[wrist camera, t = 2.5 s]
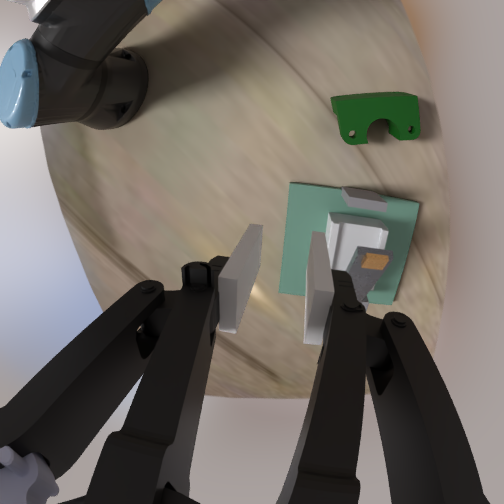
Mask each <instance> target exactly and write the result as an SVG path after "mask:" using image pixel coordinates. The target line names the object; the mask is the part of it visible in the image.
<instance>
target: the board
mask: <svg viewBox="0 0 504 504" xmlns="http://www.w3.org/2000/svg"><path fill="white" fill-rule="evenodd" d="M418 209H419V203H418V202H416V201H411V200H406V199H401V198H396V197H390V196H385V195H379V194H377V193H376V192H374V191H368V190H362V189H355V188H349V187H342V188H335V187H327V186H320V185H312V184H303V183H294V182H290V185H289V196H288V207H287V218H286V228H285V238H284V248H283V257H282V266H281V275H280V284H279V293H285V294H292V295H300V296H306V270H307V263H308V257H309V250H310V243H311V236H312V231H316V232H324V233H325V236H326V242H327V248H328V253H329V259H330V266H331V269H334V270H342V271H346V269H347V267H348V265H349V263H350V261H351V258H352V256H353V254H354V252H355V250H356V248H357V246H362V247H369V248H377V249H384V250H391V251H393V261H392V262H391V263H390V265H389V266H388V267H387V269H386V270H385V272H384V273H383V274H382V276H381V277H380V278H379V280H378V281H377V282H376V284H375V285H374V286H373V288H372V289H371V290H370V291H369V293H368V294H367V295H366V296H365V298H364V299H363V300H362V301H361V303H362V304H363V305H364V306H365V309H366V311H367V307H368V304H369V303H374V304H384V305H392V302H393V299H394V297H395V294H396V291H397V288H398V285H399V282H400V278H401V275H402V272H403V269H404V265H405V262H406V258H407V255H408V251H409V247H410V243H411V239H412V235H413V231H414V227H415V223H416V218H417V213H418Z"/></svg>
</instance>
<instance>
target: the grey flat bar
mask: <svg viewBox="0 0 504 504" xmlns="http://www.w3.org/2000/svg"><path fill="white" fill-rule="evenodd" d="M392 261H393V251H391V250H384V249H377V248H369V247H362V246H357V248H356V250H355V252H354V254H353V256H352V258H351V261H350V263H349V265H348V267H347V269H346V272H347V273H348V274H349V275H350V276H351V278H352V281H353V285H354V289H355V293H356V296H357V300H358V301H359V302H360V303H361V301H362V300H363V299H364V298H365V296H366V295H367V294H368V293H369V291H370V290H371V289H372V288H373V286H374V285H375V284H376V282H377V281H378V280H379V278H380V277H381V276H382V274H383V273H384V272H385V270H386V269H387V267H388V266H389V265H390V263H391V262H392Z"/></svg>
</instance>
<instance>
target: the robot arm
mask: <svg viewBox="0 0 504 504" xmlns="http://www.w3.org/2000/svg"><path fill="white" fill-rule="evenodd" d="M8 1H12V2H16V3H19V4H23V5H26V7H27V8H28V15H29V20H30V21H32V22H35V23H38V24H39V26H38V28H37V29H36V31H35V32H34V34H33V35H32V37H31V38H30V39H29V40H28V39H26V38H25V39H22V40H19V41H17V42H15V43H14V44H13V45H12V46H11V47H10V48H9V50H8V51H7V53H6V55H5V57H4V59H3V61H2V64H1V66H0V120H1V122H2V123H3V124H4V125H5V126H6V127H8V128H24V127H25V128H31V127H36V126H43V125H50V124H57V123H65V122H75V121H77V122H79V123H82V124H84V125H86V126H89V127H91V128H94V129H98V130H106V129H114V128H117V127H120V126H122V125H123V124H125V123H126V122H127V121H129V120H130V119H131V118H132V117H133V116H134V115H135V113H136V112H137V111H138V109H139V108H140V106H141V104H142V102H143V100H144V97H145V94H146V91H147V86H148V72H147V67H146V65H145V62H144V61H143V59H142V58H141V57H140V56H139V55H138V54H136V53H134V52H132V51H129V50H126V49H120V48H115V47H116V46H117V45H118V44H119V43H120V42H121V41H122V40H123V39H124V38H125V37H126V35H127V34H128V33H129V32H130V31H131V30H132V29H133V28H134V27H135V26H136V25H137V24H138V23H139V22H140V21H141V20H142V19H144V18H145V17H146V16H148V15H149V14H150V13H151V11H152V10H153V9H154V8H155V7H156V6H157V5H158V4H159V3H160V2H161V1H162V0H8ZM114 48H115V49H114ZM262 231H263V225H257V224H250V225H249V227H248V228H247V230H246V232H245V233H244V235H243V237H242V238H241V240H240V242H239V243H238V245H237V246H236V248H235V250H234V251H233V253H232V255H231V256H230V257H224V256H216V257H215V258H213V259H211V260H210V261H209V263H207V262H191V263H188V264H185V265H184V266H183V267H182V268H181V270H182V282H183V286H182V288H181V290H176V291H164V286H163V284H162V283H161V282H159V281H155V280H145V281H143V282H140V283H138V284H136V285H135V286H134V287H133V288H131V289H130V290H129V291H128V292H127V293H126V294H124V295H123V296H122V297H121V298H120V299H118V300H117V301H116V302H115V303H114V304H113V305H111V306H110V307H109V308H108V309H107V310H106V311H105V312H103V313H102V314H101V315H100V316H99V317H98V318H97V319H95V320H94V321H93V322H92V323H91V324H90V325H89V326H88V327H86V328H85V329H84V330H83V331H82V332H81V333H80V334H79V335H78V336H76V337H75V338H74V339H73V340H72V341H71V342H70V343H69V344H68V345H67V346H66V347H65V348H63V349H62V350H61V351H60V352H59V353H58V354H57V355H56V356H55V357H54V358H53V359H52V360H51V361H50V362H49V363H47V364H46V365H45V366H44V367H43V368H42V369H41V370H40V371H39V372H38V373H37V374H36V375H35V376H34V377H33V378H32V379H31V380H30V381H29V382H28V383H27V384H26V385H25V386H24V387H23V388H22V389H21V390H20V391H19V392H18V393H17V394H16V395H15V396H14V397H13V398H12V399H11V400H10V401H9V402H8V404H7V405H6V406H4V407H2V408H0V504H46V501H47V499H48V498H49V497H50V496H56V495H57V494H58V493H59V487H58V485H57V484H56V482H55V480H56V479H57V478H59V477H61V476H62V475H63V474H64V473H65V472H66V471H68V470H69V469H70V468H71V467H72V466H73V464H74V463H75V462H76V461H77V460H78V459H79V457H80V456H81V455H82V453H83V452H84V451H85V449H86V448H87V447H88V445H89V444H90V443H91V441H92V440H93V439H94V437H95V436H96V435H97V433H98V432H99V430H100V429H101V428H102V427H103V426H104V424H105V423H106V422H107V420H108V419H109V418H110V416H111V415H112V414H113V412H114V411H115V410H116V408H117V407H118V406H119V405H120V403H121V402H122V401H123V399H124V398H125V397H126V395H127V394H128V393H129V392H130V390H131V389H132V388H133V386H134V385H135V384H136V382H137V381H138V380H139V379H140V377H141V376H142V375H143V376H142V379H141V382H140V384H139V386H138V389H137V391H136V394H135V396H134V399H133V401H132V404H131V406H130V409H129V412H128V414H127V417H126V419H125V422H124V425H123V427H122V429H121V430H120V431H116V432H112V433H111V434H110V435H109V436H108V438H107V439H106V441H105V443H104V446H103V449H102V451H101V454H100V457H99V459H98V462H97V465H96V468H95V471H94V474H93V476H92V479H91V482H90V485H89V488H88V491H87V494H86V495H85V496H82V497H79V498H76V499H73V500H69V501H66V502H62V503H58V504H200V503H198V502H196V501H194V500H193V499H190V498H189V490H190V482H189V475H190V468H191V462H192V457H193V451H194V445H195V440H196V434H197V429H198V425H199V419H200V414H201V409H202V404H203V399H204V394H205V388H206V383H207V378H208V373H209V368H210V363H211V359H212V354H213V349H214V344H215V339H216V327H217V324H218V322H219V331H225V332H230V333H236V332H237V329H238V326H239V324H240V321H241V318H242V315H243V313H244V310H245V307H246V304H247V301H248V299H249V296H250V293H251V290H252V287H253V285H254V282H255V279H256V276H257V273H258V270H259V268H260V260H261V246H262ZM139 326H141V328H140V329H139V330H138V331H137V329H138V328H139ZM322 339H323V346H322V350H321V353H320V356H319V360H318V363H317V364H318V367H317V372H316V376H315V380H314V385H313V389H312V393H311V397H310V401H309V405H308V409H307V412H306V416H305V419H304V423H303V427H302V430H301V433H300V437H299V440H298V444H297V447H296V450H295V453H294V456H293V459H292V463H291V466H290V469H289V471H288V474H287V477H286V480H285V483H284V486H283V489H282V491H281V494H280V496H279V498H278V500H277V502H276V504H358V500H359V495H360V481H359V480H358V479H357V478H356V467H357V461H358V454H359V446H360V439H361V430H362V421H363V409H364V396H365V379H366V376H367V380H368V384H369V388H370V392H371V396H372V400H373V404H374V408H375V413H376V417H377V422H378V426H379V431H380V436H381V440H382V446H383V451H384V457H385V462H386V468H387V474H388V481H389V487H390V495H391V502H392V504H490V503H489V501H488V500H487V498H486V497H485V495H484V494H483V489H482V485H481V482H480V478H479V474H478V471H477V467H476V464H475V461H474V457H473V454H472V452H471V448H470V445H469V443H468V439H467V437H466V434H465V431H464V429H463V427H462V423H461V421H460V418H459V416H458V413H457V411H456V408H455V406H454V404H453V401H452V399H451V397H450V394H449V392H448V390H447V388H446V385H445V383H444V381H443V379H442V377H441V375H440V373H439V371H438V369H437V366H436V364H435V362H434V360H433V358H432V356H431V354H430V352H429V350H428V349H427V347H426V345H425V343H424V341H423V339H422V337H421V335H420V334H419V332H418V330H417V328H416V326H415V325H414V323H413V321H412V320H411V319H410V318H409V317H408V316H406V315H405V314H403V313H400V312H389V313H387V314H385V316H384V318H383V319H380V318H376V317H373V316H371V315H368V314H367V313H366V309H365V306H364V305H363V304H362V303H360V302H359V301H358V300H357V296H356V293H355V289H354V285H353V281H352V278H351V276H350V275H349V274H348V273H347V272H346V271H342V270H334V269H331V266H330V259H329V253H328V248H327V242H326V236H325V233H324V232H316V231H312V236H311V243H310V250H309V257H308V263H307V270H306V298H305V323H304V343H306V344H315V345H321V343H322ZM143 373H144V374H143Z"/></svg>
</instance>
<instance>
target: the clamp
mask: <svg viewBox="0 0 504 504" xmlns="http://www.w3.org/2000/svg"><path fill="white" fill-rule="evenodd" d="M331 103H332V108H333V112H334V113H335V114H336V115H337V119H338V124H339V130H340V135H341V137H342V139H343V140H344V141H345V142H346V143H347V144H350V145H357V144H367V143H368V141H367V129H368V127H369V125H370V124H371V123H372V122H373V121H375V120H377V119H381V118H384V119H386V121H387V123H388V126H389V133H390V134H391V135H393V136H394V137H395V138H397V139H398V140H399V141H400V140H414V139H416V138H417V137H418V136H419V135H420V131H421V130H420V117H419V107H418V98H417V96H415V95H412V94H408V93H405V92H378V93H363V94H352V95H342V96H334V97H331ZM409 126H411V130H410V131H408V127H409ZM352 130H354V131H355V134H354V135H353V136H349V132H350V131H352Z"/></svg>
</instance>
